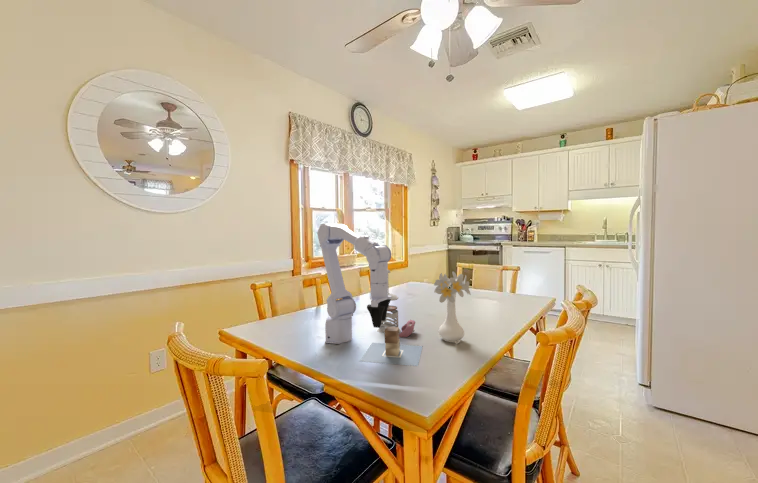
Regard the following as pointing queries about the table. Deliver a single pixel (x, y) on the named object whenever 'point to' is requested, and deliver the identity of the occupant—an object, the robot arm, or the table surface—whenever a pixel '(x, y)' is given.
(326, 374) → the table surface
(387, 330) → the walnut block
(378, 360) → the board
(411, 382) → the table surface
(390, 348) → the birch block
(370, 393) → the table surface
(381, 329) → the french press
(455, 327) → the flower vase
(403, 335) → the video game controller
